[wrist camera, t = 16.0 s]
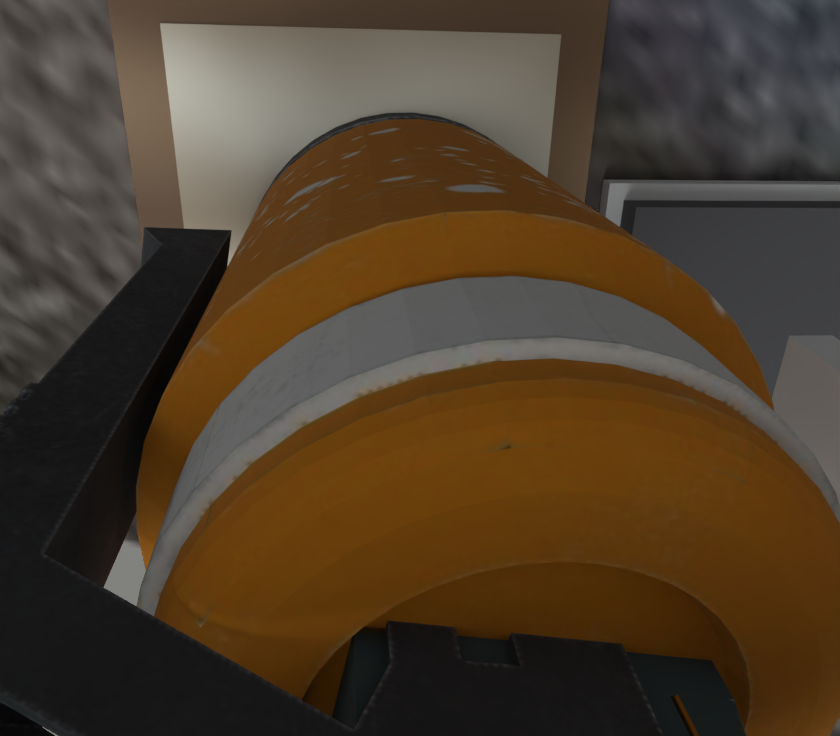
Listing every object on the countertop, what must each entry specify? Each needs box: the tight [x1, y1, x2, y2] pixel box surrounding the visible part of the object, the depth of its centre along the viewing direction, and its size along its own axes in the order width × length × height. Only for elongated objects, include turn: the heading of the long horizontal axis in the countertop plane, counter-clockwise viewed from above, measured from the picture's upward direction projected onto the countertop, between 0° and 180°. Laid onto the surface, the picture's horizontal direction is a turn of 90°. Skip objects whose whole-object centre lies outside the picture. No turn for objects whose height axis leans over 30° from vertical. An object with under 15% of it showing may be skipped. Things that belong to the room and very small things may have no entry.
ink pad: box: [599, 180, 840, 399], centre depth 24 cm, size 14×12×2 cm
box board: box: [107, 0, 609, 267], centre depth 21 cm, size 15×13×1 cm
